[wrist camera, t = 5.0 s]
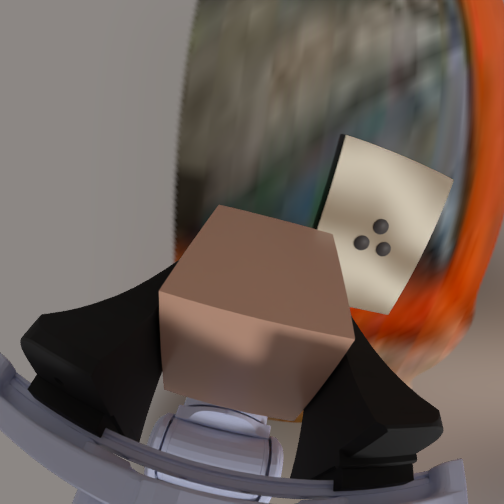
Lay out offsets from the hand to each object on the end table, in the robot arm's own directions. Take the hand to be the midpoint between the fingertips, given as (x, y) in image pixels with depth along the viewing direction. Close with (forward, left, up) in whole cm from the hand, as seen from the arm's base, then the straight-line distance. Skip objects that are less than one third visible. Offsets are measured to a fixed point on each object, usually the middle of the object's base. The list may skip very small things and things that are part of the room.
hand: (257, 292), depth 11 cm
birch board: (0, -8, -9) cm, 12 cm away
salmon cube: (0, 0, -2) cm, 2 cm away
